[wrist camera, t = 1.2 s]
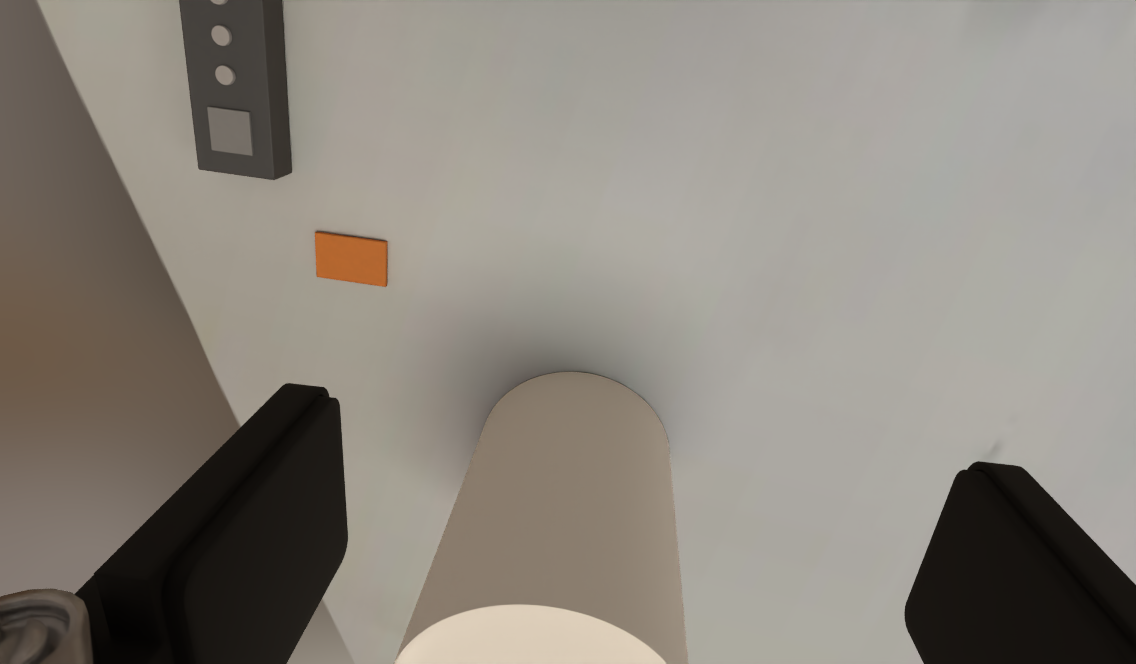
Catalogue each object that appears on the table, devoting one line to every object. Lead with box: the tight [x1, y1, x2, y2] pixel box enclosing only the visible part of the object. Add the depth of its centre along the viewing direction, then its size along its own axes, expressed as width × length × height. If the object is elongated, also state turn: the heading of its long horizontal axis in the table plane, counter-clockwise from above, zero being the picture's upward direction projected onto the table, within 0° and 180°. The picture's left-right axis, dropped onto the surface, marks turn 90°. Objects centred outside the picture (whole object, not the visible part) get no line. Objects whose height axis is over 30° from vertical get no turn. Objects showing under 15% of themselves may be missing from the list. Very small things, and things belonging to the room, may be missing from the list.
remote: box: [179, 0, 292, 180], centre depth 37 cm, size 13×5×2 cm, turn 173°
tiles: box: [315, 232, 387, 287], centre depth 38 cm, size 26×5×1 cm, turn 173°
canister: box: [394, 372, 688, 664], centre depth 38 cm, size 14×14×20 cm
